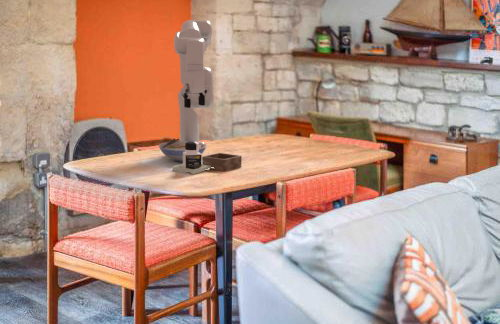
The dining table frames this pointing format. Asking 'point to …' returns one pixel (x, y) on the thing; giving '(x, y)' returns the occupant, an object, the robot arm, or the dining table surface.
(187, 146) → the medicine bottle
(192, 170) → the tray
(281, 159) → the dining table surface
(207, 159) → the holder
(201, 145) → the ramen bowl
